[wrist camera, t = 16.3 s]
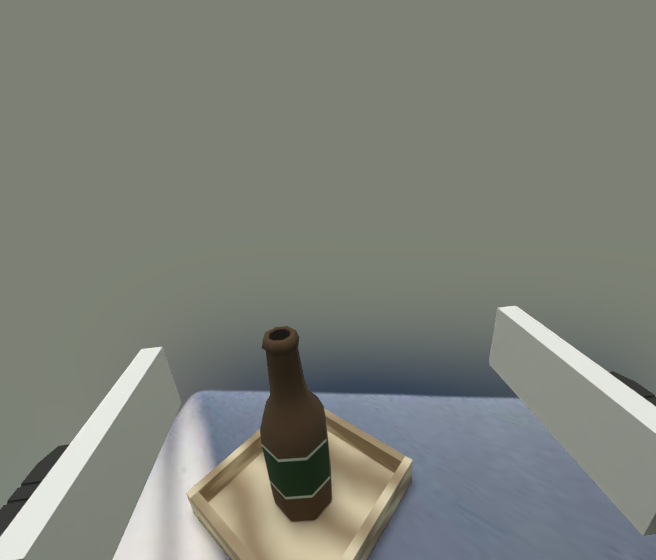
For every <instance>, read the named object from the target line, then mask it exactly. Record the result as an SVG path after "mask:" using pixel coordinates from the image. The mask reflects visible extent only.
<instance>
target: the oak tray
mask: <svg viewBox="0 0 656 560" xmlns="http://www.w3.org/2000/svg"><path fill="white" fill-rule="evenodd" d="M324 411H325V416H326V424H327V434H328V444H329V453H330V463H331V484H332V500H331V501H330V503H329V504H328V505H327V506H326V507H325V508H324V510H323V511H322V512H321V513H320V514H319V515H318V516H317V518H316V519H314V520H300V521H290V519H289V518H288V517H287V516H286V515H285V514H284V513H283V512H282V510H281V509H280V508H279V507H278V506H277V505H276V503H275V500H274V497H273V494H272V489H271V485H270V480H269V476H268V471H267V467H266V462H265V458H264V453H263V449H262V444H261V436H260V429H259V430H258V431H257V432H256V433H255V434H254V435H253V436H251V437H250V438H249V439H248V440H247V441H246V442H244V443H243V444H242V445H241V446H240V447H239V448H238V449H236V450H235V451H234V452H233V453H232V454H231V455H229V456H228V457H227V458H226V459H225V460H224V461H223V462H221V463H220V464H219V465H218V466H217V467H216V468H214V469H213V470H212V471H211V472H210V473H209V474H208V475H206V476H205V477H204V478H203V479H202V480H201V481H199V482H198V483H197V484H196V485H195V486H194V487H193V488H191V489H190V490H189V491H188V492H187V493H186V494H187V496H188V499H189V501H190V504H191V507H192V509H193V512H194V514H195V515H196V516H197V518H198V519H199V520H200V521H201V523H202V524H203V525H204V526H205V528H206V529H207V530H208V531H209V533H210V534H211V535H212V536H213V538H214V539H215V540H216V541H217V543H218V544H219V545H220V547H221V548H222V549H223V550H224V552H225V553H226V554H227V555H228V557H229V558H230V559H231V560H367V559H368V557H369V555H370V553H371V552H372V550H373V548H374V546H375V544H376V543H377V541H378V539H379V537H380V536H381V534H382V532H383V530H384V529H385V527H386V525H387V523H388V522H389V520H390V518H391V516H392V515H393V513H394V511H395V509H396V508H397V506H398V504H399V502H400V500H401V499H402V497H403V495H404V493H405V492H406V490H407V488H408V486H409V485H410V483H411V481H412V461H413V460H411V459H410V458H408V457H406V456H404V455H403V454H401V453H399V452H398V451H396V450H394V449H392V448H391V447H389V446H387V445H386V444H384V443H382V442H380V441H379V440H377V439H375V438H374V437H372V436H370V435H369V434H367V433H365V432H363V431H362V430H360V429H358V428H357V427H355V426H353V425H351V424H350V423H348V422H346V421H345V420H343V419H341V418H339V417H338V416H336V415H334V414H333V413H331V412H329V411H327V410H326V409H324Z"/></svg>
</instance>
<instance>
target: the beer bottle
mask: <svg viewBox="0 0 656 560" xmlns="http://www.w3.org/2000/svg"><path fill="white" fill-rule="evenodd" d="M298 342H299V336H298V334H297V332H296V330H294V329H292V328H290V327H288V326H285V327H275V328H273V329H271V330H269V331H267V332H266V333H265V335H264V339H263V345H262V348H263V349H264V350H266V355H267V365H268V374H269V384H270V396H269V398H268V399H267V401H266V405H265V409H264V414H263V419H262V424H261V428H260V436H261V444H262V449H263V453H264V458H265V462H266V467H267V471H268V476H269V480H270V485H271V489H272V494H273V497H274V500H275V503H276V505H277V506H278V507H279V508H280V509H281V510H282V512H283V513H284V514H285V515H286V516H287V517H288V518H289V519H290V521H300V520H314V519H316V518H317V516H318V515H319V514H320V513H321V512H322V511H323V510H324V508H325V507H326V506H327V505H328V504H329V503H330V501H331V500H332V484H331V463H330V453H329V444H328V434H327V424H326V416H325V411H324V406H323V404H322V403H321V401H320V400H319V398H318V397H317V396H316V395H314V394H313V393H312V392H310V391H309V390H308V388H307V385H306V383H305V380H304V375H303V370H302V365H301V361H300V356H299V351H298Z"/></svg>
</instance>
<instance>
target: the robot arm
mask: <svg viewBox="0 0 656 560" xmlns="http://www.w3.org/2000/svg"><path fill="white" fill-rule="evenodd" d="M489 364H490V366H491V367H492V368H493V369H494V370H495V371H496V372H497V373H498V374H499V376H500V377H501V378H502V379H503V380H504V381H505V382H506V383H507V385H509V387H510V388H511V389H512V390H513V391H514V392H515V393H516V395H517V396H518V397H519V398H520V399H521V400H522V401H523V402H524V404H525V405H526V406H527V407H528V408H529V409H530V410H531V411H532V412H533V414H534V415H535V416H536V417H537V418H538V419H539V420H540V421H541V423H542V424H543V425H544V426H545V427H546V428H547V429H548V430H549V431H550V433H551V434H552V435H553V436H554V437H555V438H556V439H557V440H558V442H559V443H560V444H561V445H562V446H563V447H564V448H565V449H566V450H567V452H568V453H569V454H570V455H571V456H572V457H573V458H574V459H575V461H576V462H577V463H578V464H579V465H580V466H581V467H582V468H583V469H584V471H585V472H586V473H587V474H588V475H589V476H590V477H591V478H592V480H593V481H594V482H595V483H596V484H597V485H598V486H599V487H600V488H601V490H602V491H603V492H604V493H605V494H606V495H607V496H608V497H609V498H610V500H611V501H612V502H613V503H614V504H615V505H616V506H617V507H618V509H619V510H620V511H621V512H622V513H623V514H624V515H625V516H626V517H627V519H628V520H629V521H630V522H631V523H632V524H633V525H634V526H635V528H636V529H637V530H638V531H639V532H640V533H641V534H642V535H643V536H646V535H652V534H656V397H655V395H653V394H652V393H651V392H649V391H648V390H647V389H645V388H644V387H642V386H641V385H639V384H638V383H636V382H635V381H633V380H630V379H628V378H626V377H624V376H622V375H620V374H618V373H615V372H607V371H606V370H604V369H603V368H601V367H600V366H599V365H597V364H596V363H595V362H593V361H592V360H590V359H589V358H588V357H586V356H585V355H583V354H582V353H581V352H579V351H578V350H576V349H575V348H574V347H572V346H571V345H570V344H568V343H567V342H565V341H564V340H563V339H561V338H560V337H559V336H557V335H556V334H554V333H553V332H552V331H550V330H549V329H547V328H546V327H545V326H543V325H542V324H540V323H539V322H538V321H536V320H535V319H534V318H532V317H530V316H529V315H528V314H527V313H525V312H524V311H522V310H521V309H520V308H518V307H517V306H509V307H501V308H497V314H496V321H495V327H494V334H493V340H492V346H491V352H490V358H489ZM180 404H181V400H180V397H179V394H178V392H177V388H176V386H175V383H174V380H173V377H172V374H171V371H170V368H169V365H168V362H167V359H166V356H165V353H164V350H163V347H156V348H148V349H141V351H140V352H139V353H138V354H137V356H136V357H135V358H134V360H133V361H132V363H131V364H130V365H129V366H128V368H127V369H126V371H125V372H124V373H123V374H122V376H121V377H120V378H119V380H118V381H117V383H116V384H115V385H114V387H113V388H112V389H111V390H110V392H109V393H108V394H107V396H106V397H105V398H104V400H103V401H102V402H101V404H100V405H99V406H98V408H97V409H96V410H95V412H94V413H93V414H92V416H91V417H90V418H89V420H88V421H87V422H86V424H85V425H84V426H83V428H82V429H81V430H80V432H79V433H78V434H77V436H76V437H75V438H74V440H73V441H72V442H71V443H70V445H63V446H58V447H57V448H56V449H55V450H53V451H52V452H51V453H50V454H49V455H47V456H46V457H45V458H44V459H43V460H42V461H40V462H39V463H38V464H37V465H36V466H35V468H34V469H33V470H32V471H31V472H30V474H29V475H28V476H27V477H26V479H25V480H24V481H23V482H22V484H21V487H20V488H17V490H16V491H15V492H14V493H13V495H12V496H11V497H10V498H9V500H8V503H7V505H4V506H3V507H2V508H1V510H0V560H112V559H113V557H114V554H115V552H116V550H117V548H118V545H119V543H120V541H121V538H122V536H123V534H124V532H125V529H126V527H127V525H128V523H129V520H130V518H131V516H132V514H133V511H134V509H135V507H136V504H137V502H138V500H139V498H140V495H141V493H142V491H143V489H144V486H145V484H146V482H147V479H148V477H149V475H150V473H151V470H152V468H153V466H154V464H155V461H156V459H157V457H158V454H159V452H160V450H161V448H162V445H163V443H164V441H165V439H166V436H167V434H168V432H169V429H170V427H171V425H172V423H173V420H174V418H175V416H176V414H177V411H178V409H179V407H180Z"/></svg>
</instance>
